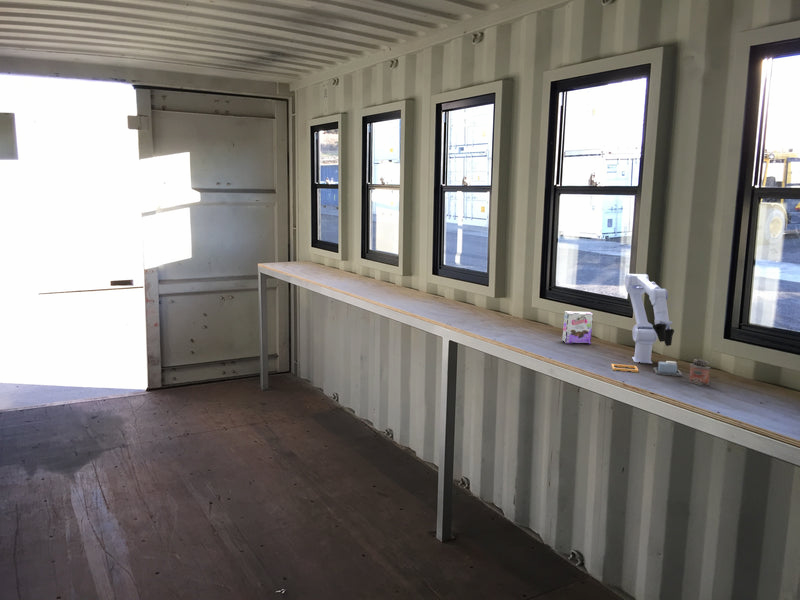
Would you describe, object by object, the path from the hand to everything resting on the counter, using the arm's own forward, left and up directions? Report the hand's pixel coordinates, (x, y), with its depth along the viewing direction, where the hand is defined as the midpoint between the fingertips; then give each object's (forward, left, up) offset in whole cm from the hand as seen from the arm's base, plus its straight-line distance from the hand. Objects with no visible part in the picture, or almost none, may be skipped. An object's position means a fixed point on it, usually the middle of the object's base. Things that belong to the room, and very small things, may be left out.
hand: (665, 343), depth 278 cm
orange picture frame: (-2, -16, -14) cm, 21 cm away
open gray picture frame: (-2, +2, -13) cm, 14 cm away
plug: (-2, +2, -14) cm, 14 cm away
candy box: (-52, -35, -14) cm, 64 cm away
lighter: (+11, +12, -14) cm, 22 cm away
